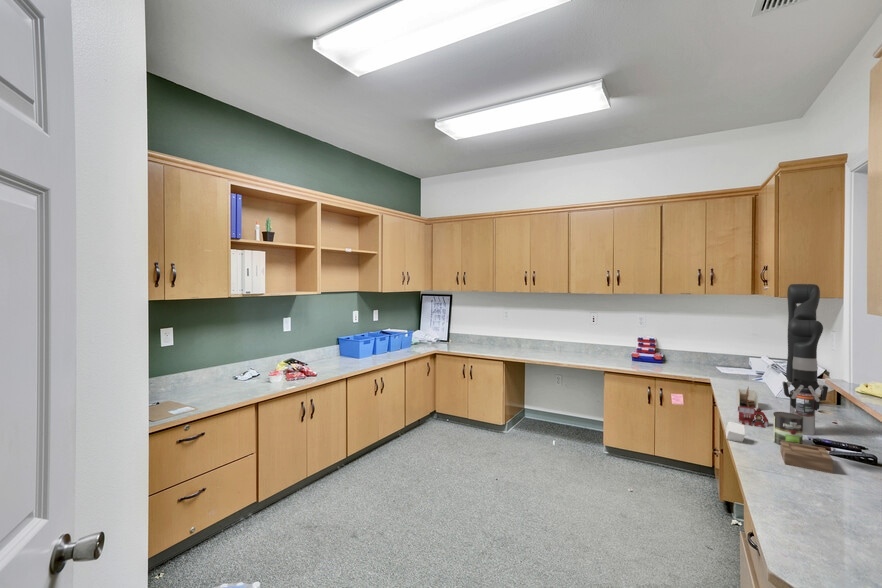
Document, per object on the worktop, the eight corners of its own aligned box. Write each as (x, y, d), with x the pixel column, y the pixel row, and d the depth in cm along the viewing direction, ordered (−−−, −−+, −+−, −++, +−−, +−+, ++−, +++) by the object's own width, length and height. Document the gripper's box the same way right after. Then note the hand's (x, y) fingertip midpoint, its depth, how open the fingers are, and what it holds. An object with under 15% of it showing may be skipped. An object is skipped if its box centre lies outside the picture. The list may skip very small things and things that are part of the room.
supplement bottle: (804, 412, 165) (804, 385, 165) (818, 417, 159) (818, 389, 159) (790, 412, 164) (791, 386, 164) (804, 417, 159) (804, 389, 158)
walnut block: (780, 453, 171) (780, 440, 171) (824, 461, 163) (824, 448, 163) (785, 465, 160) (785, 451, 160) (832, 474, 152) (832, 459, 152)
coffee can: (807, 451, 173) (808, 419, 173) (779, 448, 176) (779, 417, 176) (796, 443, 183) (796, 412, 182) (768, 440, 186) (769, 410, 186)
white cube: (741, 433, 186) (744, 425, 183) (741, 443, 182) (745, 435, 179) (725, 429, 189) (728, 421, 186) (726, 439, 185) (728, 431, 182)
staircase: (738, 414, 227) (739, 385, 227) (736, 409, 237) (736, 381, 237) (757, 416, 223) (758, 387, 223) (754, 411, 232) (755, 383, 232)
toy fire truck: (769, 432, 197) (769, 411, 197) (738, 427, 204) (738, 407, 204) (767, 428, 203) (767, 408, 203) (737, 423, 210) (737, 404, 210)
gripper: (825, 368, 161) (825, 409, 161) (780, 365, 168) (779, 403, 169) (831, 371, 154) (831, 414, 155) (783, 368, 162) (783, 408, 162)
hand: (804, 408), depth 162 cm, fingers closed on supplement bottle, 6 cm apart
